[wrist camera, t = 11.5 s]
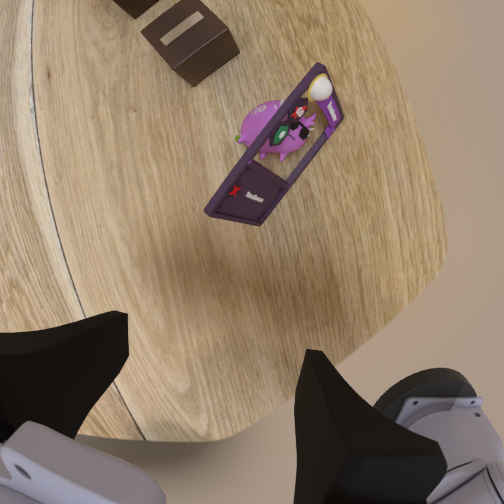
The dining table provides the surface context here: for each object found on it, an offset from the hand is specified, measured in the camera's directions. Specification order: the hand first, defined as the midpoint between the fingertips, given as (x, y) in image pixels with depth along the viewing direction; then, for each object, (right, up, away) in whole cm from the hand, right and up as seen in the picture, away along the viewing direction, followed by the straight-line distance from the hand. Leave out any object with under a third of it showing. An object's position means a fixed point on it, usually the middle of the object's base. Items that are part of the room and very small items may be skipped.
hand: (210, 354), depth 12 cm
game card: (+3, +11, +8) cm, 14 cm away
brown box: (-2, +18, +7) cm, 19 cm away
